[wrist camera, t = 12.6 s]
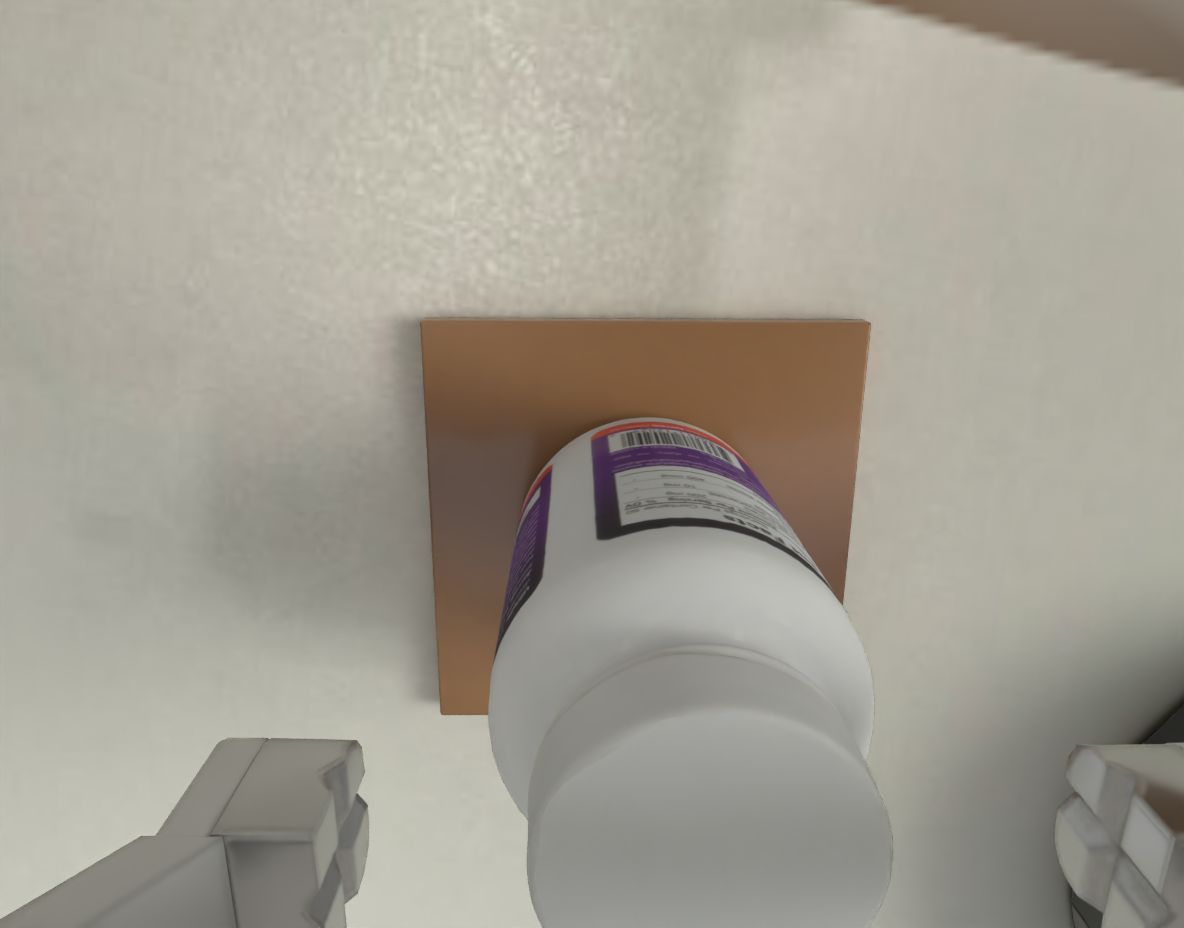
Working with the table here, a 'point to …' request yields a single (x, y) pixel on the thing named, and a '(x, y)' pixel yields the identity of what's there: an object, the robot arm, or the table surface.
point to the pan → (1174, 730)
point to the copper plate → (608, 394)
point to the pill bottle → (682, 698)
